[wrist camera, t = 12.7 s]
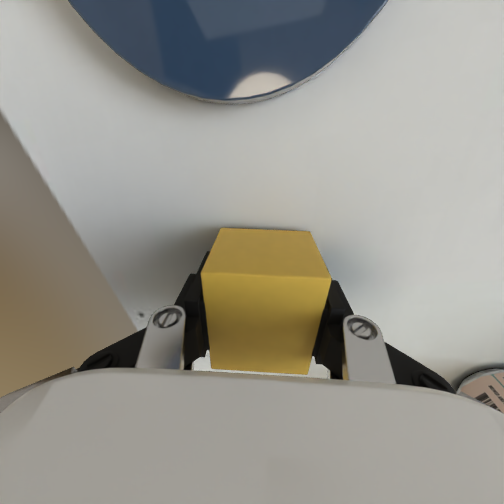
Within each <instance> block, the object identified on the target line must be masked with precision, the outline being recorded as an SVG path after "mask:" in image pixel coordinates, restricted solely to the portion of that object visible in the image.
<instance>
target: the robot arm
mask: <svg viewBox="0 0 504 504" xmlns="http://www.w3.org/2000/svg"><path fill="white" fill-rule="evenodd" d="M209 253H210V251H207V253H206V255H205V257H204V259H203V261H202V263H201V265H200V267H199V270H198V272H197V274H192V273H191V274H190V275H189V277H188V279H187V281H186V283H185V284H184V286H183V288H182V290H181V292H180V294H179V296H178V298H177V300H176V302H175V304H174V305H168V306H164V307H162V308H159V309H158V310H156V311H155V312H154V313H153V314H152V315H151V317H150V319H149V321H148V325H147V327H146V328H144V329H142V330H140V331H138V332H136V333H134V334H132V335H130V336H128V337H126V338H124V339H122V340H120V341H118V342H116V343H114V344H112V345H110V346H108V347H106V348H104V349H102V350H100V351H98V352H97V353H95V354H93V355H92V356H90V357H89V358H88V359H87V360H86V361H84V363H83V364H82V365H81V366H80V368H78V369H75V368H74V367H72V368H70V369H67V370H65V371H62V372H60V373H57V374H55V375H53V376H50V377H48V378H45V379H43V380H40V381H38V382H36V383H33V384H31V385H28V386H26V387H23V388H21V389H19V390H16V391H14V392H12V393H9V394H7V395H5V396H3V397H1V398H0V504H504V413H502V412H500V411H498V410H496V409H494V408H492V407H490V406H488V405H486V404H484V403H483V402H481V401H479V400H477V399H475V398H473V397H471V396H469V395H467V394H465V393H463V392H460V393H459V394H458V393H456V392H455V391H454V389H453V388H452V387H451V385H450V384H449V383H448V382H447V381H446V380H445V379H444V378H442V377H441V376H440V375H438V374H437V373H435V372H434V371H432V370H430V369H429V368H427V367H425V366H424V365H422V364H420V363H419V362H417V361H415V360H414V359H412V358H411V357H409V356H407V355H406V354H404V353H402V352H401V351H399V350H397V349H396V348H394V347H392V346H391V345H389V344H387V343H386V342H384V339H383V336H382V332H381V330H380V328H379V327H378V326H377V325H376V324H375V323H374V322H373V321H371V320H370V319H368V318H366V317H363V316H360V315H354V313H353V311H352V309H351V307H350V305H349V303H348V301H347V299H346V297H345V295H344V293H343V291H342V289H341V287H340V285H339V283H338V281H336V280H331V284H330V288H329V292H328V296H327V299H326V303H325V307H324V309H323V312H322V316H321V320H320V324H319V328H318V332H317V336H316V340H315V344H314V348H313V352H312V356H314V357H315V361H316V364H323V365H324V366H325V367H326V368H328V371H327V379H322V378H307V377H292V376H276V375H260V374H244V373H228V372H210V371H194V361H195V360H196V359H198V358H199V357H205V355H206V351H207V350H210V346H209V337H208V328H207V319H206V310H205V303H204V298H203V289H202V280H201V271H202V269H203V267H204V264H205V262H206V260H207V258H208V255H209ZM322 259H323V258H322ZM327 270H328V269H327ZM328 272H329V271H328ZM331 279H332V278H331Z"/></svg>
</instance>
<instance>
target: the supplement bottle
mask: <svg viewBox="0 0 504 504" xmlns="http://www.w3.org/2000/svg"><path fill="white" fill-rule="evenodd" d="M460 392H463V393H465V394H467V395H469V396H471V397H473V398H475V399H477V400H479V401H481V402H483V403H484V404H486V405H488V406H490V407H492V408H494V409H496V410H498V411H500V412H502V413H504V369H489V370H484V371H480V372H477V373H475V374H473V375H471V376H469V377H467V378H466V379H465V380H463V381H462V383H461V385H460V387H459V389H458V390H457V392H456V393H458V394H459V393H460Z"/></svg>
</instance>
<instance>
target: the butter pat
mask: <svg viewBox="0 0 504 504" xmlns="http://www.w3.org/2000/svg"><path fill="white" fill-rule="evenodd" d="M201 280H202V289H203V298H204V303H205V310H206V319H207V328H208V337H209V346H210V350H209V352H210V361H211V368H212V369H223V370H239V371H255V372H271V373H287V374H303V375H307V374H308V370H309V366H310V363H311V359H312V352H313V348H314V344H315V340H316V336H317V332H318V328H319V324H320V320H321V316H322V312H323V309H324V307H325V303H326V299H327V296H328V292H329V288H330V284H331V280H332V279H331V276H330V274H329V272H328V270H327V267H326V265H325V263H324V261H323V259H322V257H321V254H320V252H319V250H318V248H317V246H316V244H315V241H314V239H313V237H312V235H311V233H310V232H309V231H287V230H263V229H239V228H221V229H220V231H219V233H218V235H217V238H216V240H215V242H214V244H213V246H212V249H211V251H210V253H209V255H208V258H207V260H206V262H205V264H204V267H203V269H202V271H201Z"/></svg>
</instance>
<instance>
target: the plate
mask: <svg viewBox="0 0 504 504" xmlns="http://www.w3.org/2000/svg"><path fill="white" fill-rule="evenodd" d="M68 1H69V3H70V4H71V5H72V7H73V8H74V9H75V10H76V11H77V13H78V14H79V15H80V16H81V17H82V18H83V20H84V21H85V22H86V23H87V24H88V25H89V27H90V28H91V29H92V30H93V31H94V32H95V33H96V34H97V35H98V36H99V37H100V38H101V39H102V40H103V41H104V42H105V43H106V44H107V45H108V46H109V47H110V48H111V49H112V50H113V51H114V52H115V53H116V54H118V55H119V56H120V57H121V58H123V59H124V60H125V61H127V62H128V63H129V64H130V65H132V66H133V67H134V68H136V69H137V70H138V71H140V72H141V73H143V74H145V75H147V76H148V77H150V78H152V79H153V80H155V81H157V82H158V83H160V84H162V85H164V86H166V87H168V88H171V89H173V90H175V91H178V92H180V93H182V94H185V95H187V96H189V97H192V98H196V99H200V100H203V101H207V102H212V103H221V104H246V103H253V102H258V101H262V100H267V99H271V98H273V97H276V96H278V95H281V94H284V93H286V92H289V91H291V90H292V89H294V88H296V87H298V86H300V85H301V84H303V83H305V82H307V81H309V80H310V79H311V78H313V77H314V76H315V75H317V74H318V73H319V72H321V71H322V70H323V69H325V68H326V67H328V66H329V65H330V64H331V63H332V62H333V61H334V60H335V59H336V58H337V57H338V56H339V55H340V54H341V53H343V52H344V51H345V50H346V49H347V48H348V47H349V46H350V45H351V44H352V43H353V42H354V41H355V40H356V38H357V37H358V36H359V35H360V34H361V33H362V32H363V31H364V30H365V28H366V27H367V26H368V25H369V24H370V23H371V21H372V20H373V19H374V18H375V17H376V16H377V14H378V13H379V12H380V11H381V10H382V9H383V7H384V6H385V4H386V3H387V1H388V0H68Z"/></svg>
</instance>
